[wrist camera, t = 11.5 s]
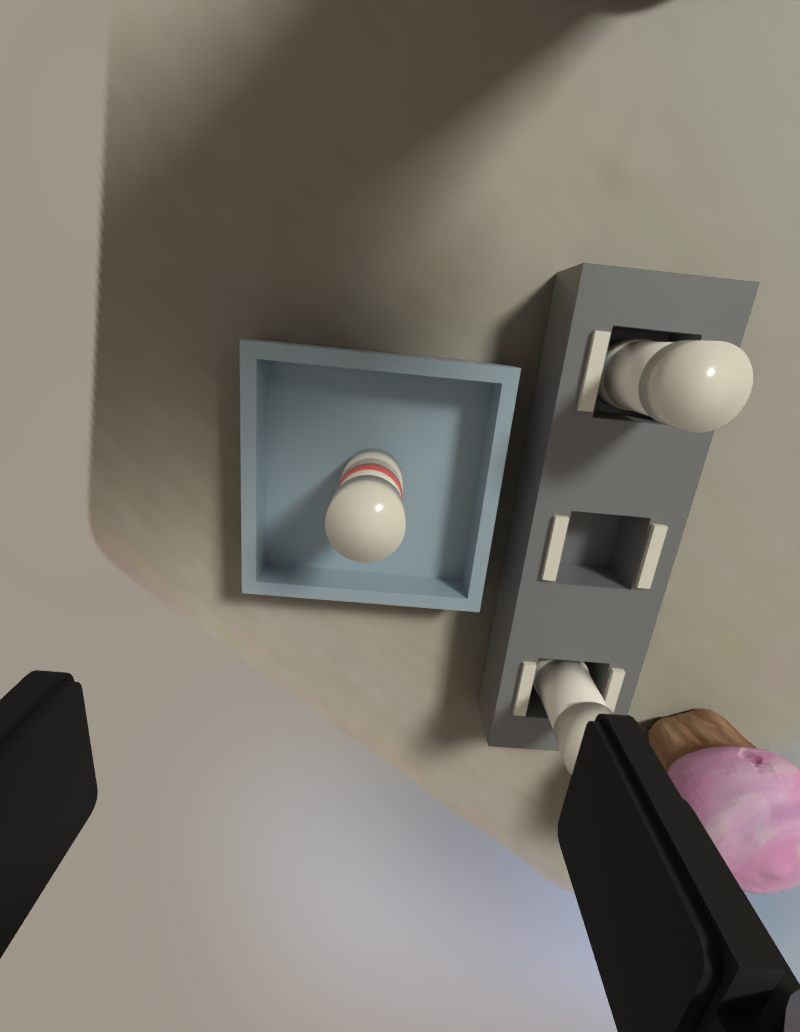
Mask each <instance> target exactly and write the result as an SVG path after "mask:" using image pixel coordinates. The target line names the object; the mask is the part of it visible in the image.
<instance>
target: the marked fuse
mask: <svg viewBox="0 0 800 1032" xmlns="http://www.w3.org/2000/svg"><path fill="white" fill-rule="evenodd" d="M402 492H403V480H402V472H401V468H400V466H399V464H398V462H397V461H396V459H395V458H394V457H393V456H391V455H390V454H389V453H387V452H385V451H383V450H379V449H365V450H362V451H359V452H357V453H356V454H354V455H353V456H352V457H351V458H350V459H349V460H348V461H347V463H346V465H345V467H344V470H343V472H342V475H341V478H340V482H339V485H338V488H337V490H336V492H335V494H334V496H333V498H332V501H331V503H330V506H329V508H328V511H327V514H326V518H325V530H326V534H327V537H328V540H329V542H330V543H331V545H332V546H333V548H334V549H335V550H336V551H337V552H338V553H339V554H341V555H342V556H344V557H346V558H348V559H350V560H352V561H356V562H362V563H369V562H376V561H379V560H382V559H384V558H386V557H388V556H389V555H391V554H392V553H393V552H394V551H395V550H396V549H397V548H398V547H399V545H400V544H401V542H402V540H403V537H404V534H405V529H406V522H405V508H404V502H403V494H402Z"/></svg>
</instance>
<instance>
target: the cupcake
mask: <svg viewBox="0 0 800 1032" xmlns="http://www.w3.org/2000/svg"><path fill="white" fill-rule="evenodd" d="M648 737H649V743H650V745H651V747H652V748H653V750H654V752H655V753H656V755H657V757H658V758H659V760H660V762H661V763H662V765H663V767H664V768H665V770H666V772H667V773H668V775H669V777H670V778H671V780H672V782H673V783H674V785H675V787H676V788H677V790H678V792H679V793H680V795H681V797H682V798H683V799H684V800H686V801H687V802H688V803H689V805H690V806H691V807H692V809H693V810H694V811H695V813H696V815H697V816H698V818H699V820H700V821H701V823H702V825H703V826H704V828H705V829H706V831H707V833H708V834H709V836H710V838H711V839H712V841H713V843H714V844H715V846H716V848H717V849H718V851H719V853H720V854H721V856H722V857H723V859H724V861H725V862H726V864H727V866H728V867H729V869H730V871H731V872H732V874H733V876H734V877H735V879H736V880H737V882H738V884H739V885H740V887H741V889H742V890H743V891H745V892H749V893H754V894H755V893H756V894H769V893H777V892H781V891H785V890H788V889H790V888H793V887H795V886H797V885H799V884H800V770H799V769H798V768H797V767H796V766H795V765H794V764H793V763H792V762H790V761H788V760H787V759H785V758H784V757H782V756H780V755H778V754H775V753H773V752H770V751H766V750H763V749H759V748H757V747H755V746H754V745H752V744H751V743H750V742H749V741H747V740H746V739H745V738H744V737H743V736H742V735H741V734H740V733H739V732H738V731H737V730H736V729H735V728H734V727H733V726H732V725H731V724H730V723H729V722H728V721H727V720H726V719H724V718H723V717H722V716H720V715H719V714H717V713H715V712H713V711H711V710H707V709H695V710H692V711H689V712H686V713H681V714H677V715H673V716H670V717H663V718H661V719H659V720H658V721H657V722H656V723H655V724H654V725H653V726H652V728H651V729H650V731H649V733H648Z"/></svg>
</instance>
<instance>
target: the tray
mask: <svg viewBox="0 0 800 1032" xmlns="http://www.w3.org/2000/svg"><path fill="white" fill-rule="evenodd" d="M520 373H521V368H518V367H515V366H511V365H506V364H496V363H486V362H476V361H467V360H457V359H447V358H437V357H427V356H417V355H407V354H398V353H388V352H378V351H368V350H358V349H348V348H338V347H329V346H319V345H309V344H299V343H289V342H279V341H270V340H260V339H246V340H240V448H241V562H242V593H246V594H259V595H271V596H284V597H296V598H308V599H321V600H333V601H346V602H358V603H371V604H383V605H396V606H408V607H420V608H433V609H445V610H458V611H470V612H480V607H481V601H482V595H483V589H484V583H485V578H486V572H487V566H488V560H489V554H490V548H491V542H492V537H493V531H494V525H495V519H496V513H497V507H498V501H499V496H500V490H501V484H502V478H503V472H504V466H505V460H506V455H507V449H508V443H509V437H510V431H511V425H512V419H513V414H514V408H515V402H516V396H517V390H518V384H519V378H520ZM365 449H379V450H383V451H385V452H387V453H389V454H390V455H391V456H393V457H394V458H395V459H396V461H397V462H398V464H399V466H400V468H401V472H402V480H403V492H402V494H403V502H404V508H405V522H406V529H405V534H404V537H403V540H402V542H401V544H400V545H399V547H398V548H397V549H396V550H395V551H394V552H393V553H392V554H391V555H389V556H388V557H386V558H384V559H382V560H379V561H376V562H369V563H362V562H356V561H352V560H350V559H348V558H346V557H344V556H342V555H341V554H339V553H338V552H337V551H336V550H335V549H334V548H333V546H332V545H331V543H330V542H329V540H328V537H327V534H326V530H325V518H326V514H327V511H328V508H329V506H330V503H331V501H332V498H333V496H334V494H335V492H336V490H337V488H338V485H339V482H340V478H341V475H342V472H343V470H344V467H345V465H346V463H347V461H348V460H349V459H350V458H351V457H352V456H353V455H354V454H356V453H357V452H359V451H362V450H365Z"/></svg>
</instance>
